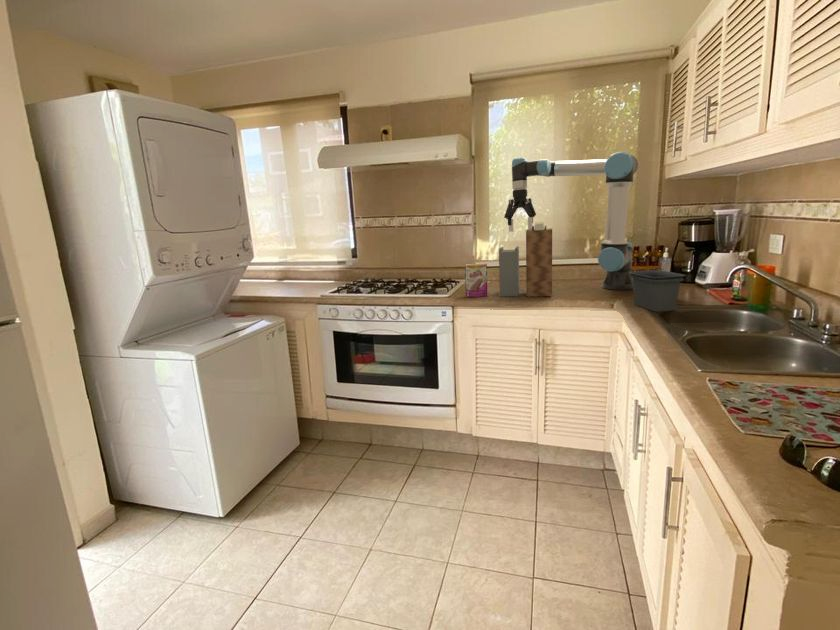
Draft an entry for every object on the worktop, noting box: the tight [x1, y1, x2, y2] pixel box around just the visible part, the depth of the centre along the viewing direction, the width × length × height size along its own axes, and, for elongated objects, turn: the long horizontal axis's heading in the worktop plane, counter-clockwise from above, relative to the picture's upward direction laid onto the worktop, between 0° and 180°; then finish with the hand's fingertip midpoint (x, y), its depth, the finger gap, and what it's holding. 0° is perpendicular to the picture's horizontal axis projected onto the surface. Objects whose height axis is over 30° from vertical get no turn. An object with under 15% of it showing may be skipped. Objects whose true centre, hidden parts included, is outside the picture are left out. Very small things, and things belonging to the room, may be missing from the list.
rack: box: [498, 246, 520, 297], centre depth 232 cm, size 9×12×24 cm
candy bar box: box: [464, 263, 488, 298], centre depth 231 cm, size 11×5×16 cm, turn 84°
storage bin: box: [629, 269, 686, 313], centre depth 184 cm, size 21×16×14 cm
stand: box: [525, 225, 553, 298], centre depth 224 cm, size 12×12×34 cm
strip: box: [534, 221, 545, 230], centre depth 224 cm, size 4×22×3 cm, turn 165°
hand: (520, 230), depth 243 cm, fingers open, 13 cm apart
